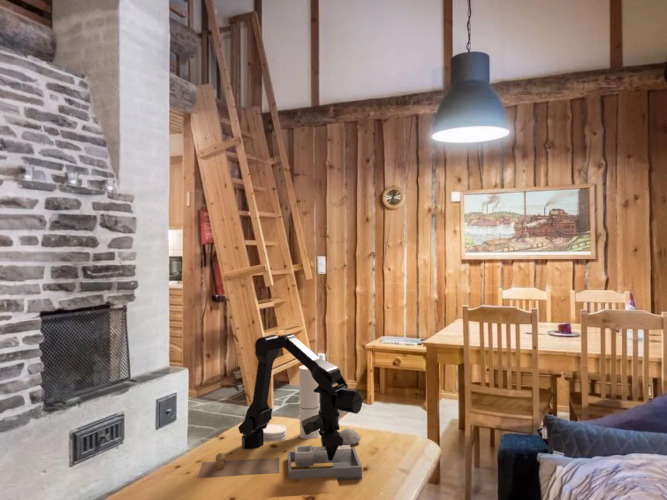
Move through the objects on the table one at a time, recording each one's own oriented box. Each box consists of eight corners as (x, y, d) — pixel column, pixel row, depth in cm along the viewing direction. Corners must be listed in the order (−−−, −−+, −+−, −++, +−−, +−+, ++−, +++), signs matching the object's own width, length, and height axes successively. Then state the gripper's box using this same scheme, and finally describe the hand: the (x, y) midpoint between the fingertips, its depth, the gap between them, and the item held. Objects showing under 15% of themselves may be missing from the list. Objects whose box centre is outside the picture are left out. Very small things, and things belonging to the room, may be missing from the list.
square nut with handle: (349, 455, 162) (349, 443, 162) (351, 463, 157) (351, 450, 157) (294, 459, 160) (294, 446, 160) (295, 466, 155) (295, 453, 155)
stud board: (279, 461, 165) (278, 443, 165) (279, 476, 154) (279, 457, 154) (202, 466, 162) (202, 447, 162) (197, 481, 151) (197, 462, 151)
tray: (354, 458, 167) (354, 447, 167) (362, 478, 152) (361, 466, 152) (287, 462, 164) (287, 451, 164) (288, 483, 150) (288, 471, 150)
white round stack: (258, 434, 190) (258, 424, 190) (285, 431, 192) (285, 422, 192) (259, 444, 180) (259, 434, 180) (287, 442, 182) (287, 432, 182)
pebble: (334, 445, 178) (334, 431, 178) (339, 437, 186) (338, 423, 186) (358, 447, 176) (358, 433, 176) (362, 438, 184) (362, 424, 184)
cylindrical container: (320, 432, 190) (319, 364, 190) (318, 439, 183) (317, 369, 183) (301, 431, 191) (300, 364, 191) (298, 439, 184) (297, 369, 184)
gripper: (301, 399, 167) (301, 447, 167) (304, 419, 148) (305, 473, 148) (335, 398, 168) (336, 445, 168) (343, 417, 149) (343, 470, 150)
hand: (329, 458), depth 158 cm, fingers closed on square nut with handle, 3 cm apart
